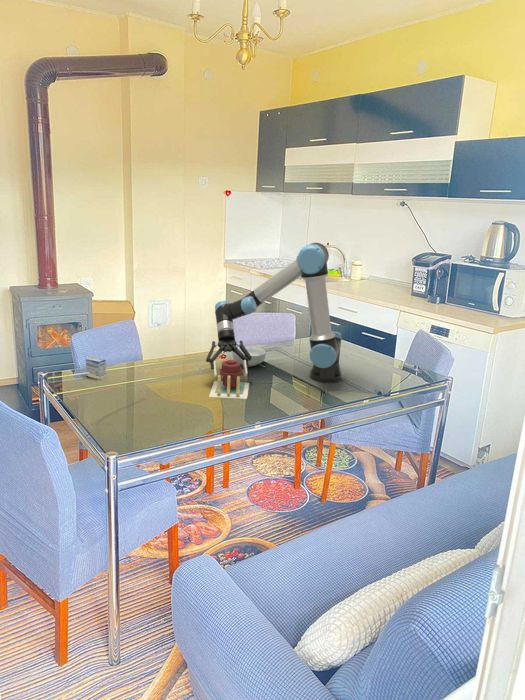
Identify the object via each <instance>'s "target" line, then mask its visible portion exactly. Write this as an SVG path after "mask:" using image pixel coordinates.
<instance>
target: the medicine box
mask: <svg viewBox="0 0 525 700" xmlns="http://www.w3.org/2000/svg"><path fill="white" fill-rule="evenodd" d="M106 365H107V362H106V359H104V358H97V357H93V356H91V357H88V358H85V372H89V373H91V374H93V375H96V376H99V377H101V376H104V375H106V376H107V366H106Z"/></svg>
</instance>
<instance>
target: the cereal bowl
mask: <svg viewBox="0 0 525 700" xmlns="http://www.w3.org/2000/svg"><path fill="white" fill-rule="evenodd" d="M244 347H245V348H246V350H247V351H248V352H249V354H250V355H251V357H252V358H251V360H250V361H248V364H249V366H248V368H249V367H255V366H257V365H259V364H261V363H263V362H264V361H265V359H266V355H267V353H266V350H265V349H262V348H260V347H254V346H244ZM237 348H238V350H239V351H241V352H242V350H241V349H240V347H237ZM231 353H232V354H231V355H232V359H233V360H235V361H238V362H240V363H241V366H243V360H242V359H241V358H240V357H239V356H238V355H237V354H236V353H234V352H233V351H231ZM242 353H243V352H242ZM243 354H244V353H243Z"/></svg>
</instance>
